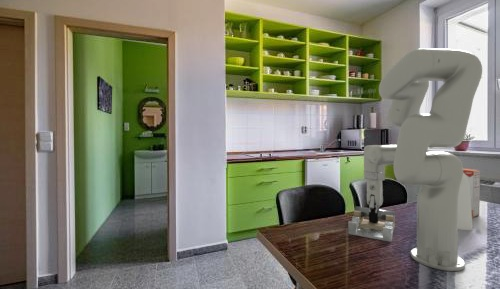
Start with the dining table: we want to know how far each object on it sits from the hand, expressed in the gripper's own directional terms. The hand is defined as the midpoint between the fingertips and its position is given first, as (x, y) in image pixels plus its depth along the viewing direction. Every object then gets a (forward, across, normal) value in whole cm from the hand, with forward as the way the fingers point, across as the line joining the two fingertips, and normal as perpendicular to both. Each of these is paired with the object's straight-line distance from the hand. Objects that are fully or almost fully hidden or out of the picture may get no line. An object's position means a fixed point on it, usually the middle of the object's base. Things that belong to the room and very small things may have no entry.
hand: (374, 220), depth 102 cm
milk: (+3, +18, -25) cm, 31 cm away
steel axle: (-1, 0, 0) cm, 1 cm away
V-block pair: (+2, -10, 0) cm, 10 cm away
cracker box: (+2, +40, -31) cm, 51 cm away
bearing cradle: (+2, 0, 0) cm, 2 cm away
